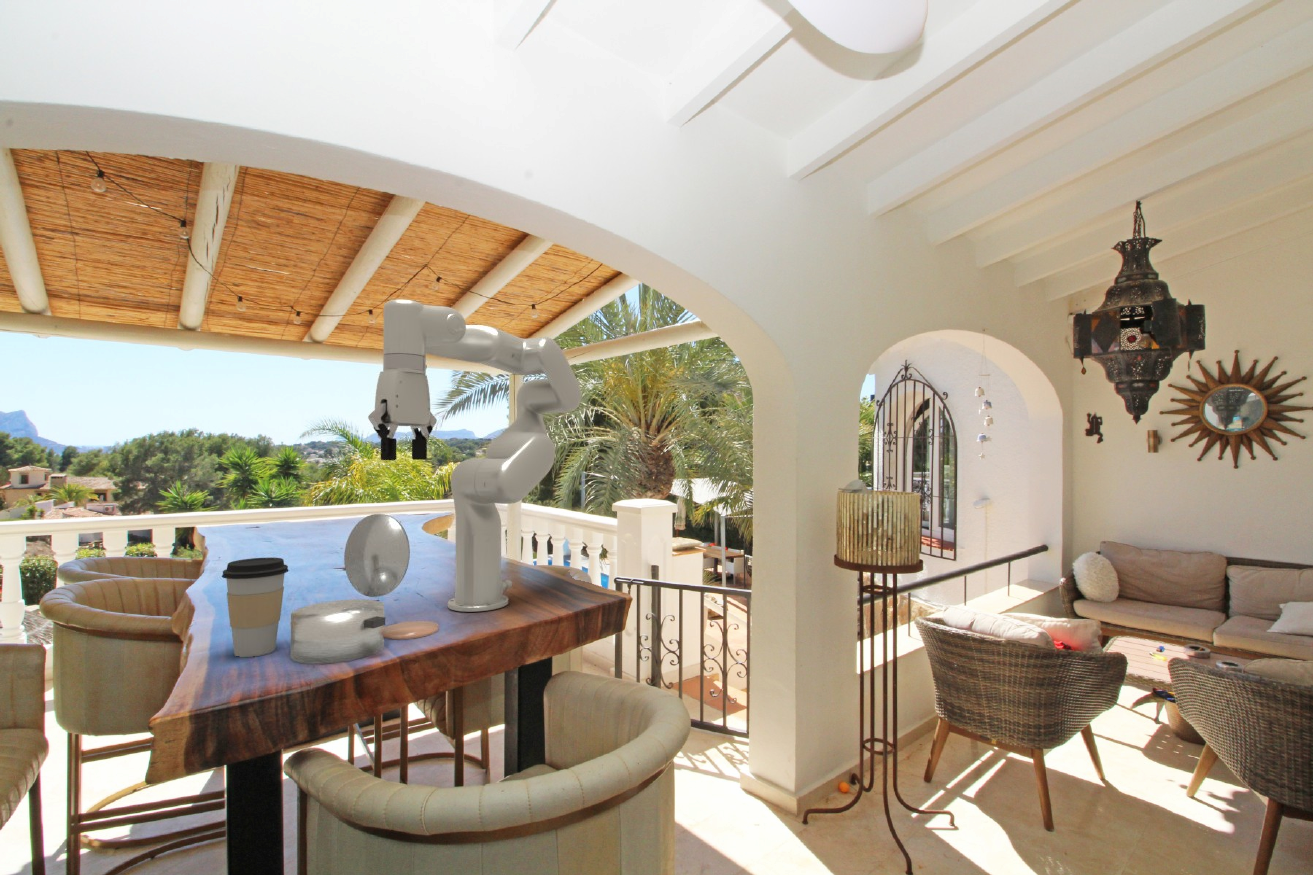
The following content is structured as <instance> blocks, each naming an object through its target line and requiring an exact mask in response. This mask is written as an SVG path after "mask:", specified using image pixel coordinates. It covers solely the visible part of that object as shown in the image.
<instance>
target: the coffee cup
mask: <svg viewBox="0 0 1313 875" xmlns="http://www.w3.org/2000/svg"><path fill="white" fill-rule="evenodd" d="M288 567H289V565H287V564H285V561H284V558H281V557H258V558H257V557H254V558H252V557H251V558H245V559H238V560H234V561H230V562H227V566H226V569H224V570H223V571H222V576H221V578H222V579H226V587H227V592H226V599H227V606H228V607H227V609H228V616H229V618H228V619H229V626H230V628H231V636H232V645H233V646H232V647H233V654H234V657H236V656H240V657H239V658H253V656H255V657H260V656H265V655H269V654H271V653H273V652H275V650H276V648H277V647H276V646H277V639H278V631H279V623H280V621H281V616H282V608H283V598H284V589H285V587H284V582H285V575H286V573H288V572H289V571H290V570H289V569H288Z"/></svg>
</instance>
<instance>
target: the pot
mask: <svg viewBox="0 0 1313 875" xmlns="http://www.w3.org/2000/svg"><path fill="white" fill-rule="evenodd" d="M385 626H386V617H385V603H384V602H382V601H379V600H375V599H362V598H361V599H358V598H357V599H340V600H331V601H324V602H323V601H322V602H318V603H313V604H310V605H305V606H303V607H299V608H297V609H295V610H293V611H291V613H290V652H289V653H290V656H289V657H290V660H292V661H294V662H296V663H301V664H308V665H309V664H311V665H323V664H326V665H327V664H334V663H343V662H349V661H355V660H358V659H361V658H366V657H368V656H371V655H373V654H375V653H377V652H379V651H381V650H382V649H383V648H384V646H385V638H384V627H385Z"/></svg>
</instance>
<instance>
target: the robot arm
mask: <svg viewBox="0 0 1313 875" xmlns="http://www.w3.org/2000/svg"><path fill="white" fill-rule="evenodd" d="M382 333H383V339H382V340H383V341H382V342H383V346H382V347H383V350H382V351H383V355H382V357H383V358H382V359H383V361H382V363H383V364H382V365H383V366H382V368H383V370H382V371H380V372H379V375H378V379H377V384H376V389H375V390H376V391H375V400H374V410H373V411H372V412H371V413H370V414H368V417H367V419H368V420H369V422H370V424H371V425H372V426H373V429H374V431H375V432H376V433H377V438H378V439H380V460H381V461H396V460H397V442H398V441H397V438H394V437H395V434H396V432H397V429H398V427H410V429H411V432H412V435H413V437H414V438H413V439H411V459H412V460H416V461H419V460H422V461H423V460H424V461H425V460H427V458H428V439H429V438H430V435H431V433H432V432H433V428H434V427H435V425H436V424H437V423H438V422H437V418H436V417H435V416H434V414H433V413H432V412H431V396H430V395H431V394H430V387H429V381H428V375H427V374H426V372H427V363H426V362H427V361H426V360H427V357H426V356H427V354H428V355H431V356H434V357H440V358H447V359H452V360H457V361H462V362H465V363H466V362H467V363H474V364H475V363H476V364H481V365H485V366H488V367H491V368H495V369H496V370H501V371H503V372H506V373H510V374H511V375H512V374H513V375H517V376H531V375H543V374H545V376H546V378H539V379H532V380H531V379H530V380H528V381H526V382H524V383H523V384H521V386H520V387H519V388H518V391H517V393H516V418H515V420H514V421H513V422H512V424H510V426H508V427H507V428H506V429H505V430H504V431H502V433H501V434H499V435H498V436H497V437H496V438H495V439H493V440H492V442H490V444H489V446H488V447H487V449H486V451H485V452H486V453H485V457H484V458H483V457H482V458H480V457H479V458H478V457H475V458H468V459H465V460H463V461H460V462H459V463H458V464H457V465H456V466H455V467H454V469H453V471H452V473H451V475H450V488H451V493H452V494H451V495H452V499H453V504H454V511H455V515H454V516H455V554H454V556H455V567H454V568H455V570H454V571H455V572H454V573H455V575H454V576H455V577H454V578H455V582H454V584H455V586H454V587H455V589H454V590H455V592H454V593H455V597H453V598H451V599H449V600H448V601H447V608H448V610H452V611H455V612H456V611H457V612H462V613H463V612H466V613H467V612H469V613H470V612H473V613H474V612H486V611H487V612H488V611H493V610H497V609H500V608H503V607H505V606H507V605H508V604H509V597H508V596H507V595H504V591H505V590H509V589H510V588H512V586H513V582H512V581H511V580H510V579H507V580H502V520H501V516H500V512H499V510H498V507H497V506H496V504H501V505H506V504H507V505H510V504H512V505H513V504H516V503H518V502H520V501H522V500H523V499H524V498H525V497H527V496H528V494H530V492H532V491H533V490H534V488H536V487H537V485H538V484H539V483H540V482H541V481H543V479H544V478H545V477H546V476H547V474H548V473H549V472H550V471H551V469H552V467H553V466H554V462H555V458H556V449H555V448H556V447H555V444H554V441H553V440H552V439H551V438H550V436H548V434H547V432H548V431H547V427H546V424H545V422H544V418H543V414H559V413H562V414H563V413H564V414H565V413H570V412H573V411H575V410H576V409H578V407H579V406H580V404H581V402H582V391H581V390H582V389H581V386H580V383H579V381H578V379H577V377H576V375H575V373H574V371H573V369H572V367H571V364H570V363H569V360H568V359H567V357H566V355H565V353H564V351H563V350H562V348H561V346H560V345H559V344H558V342H556V341H555V340H554V339H553V338H551V337H549V336H541V337H531V338H521V337H519V336H516V335H514V334H512V333H509V332H506V331H504V330H502V329H499V328H497V327H495V326H490V325H484V324H483V325H481V324H469V325H468V324H467V322H466V320H465V318H464V316H463V315H462V314H461V313H460V312H459V311H458V310H457V309H455V308H453V307H450V306H443V305H429V304H422V303H421V302H419V301H415V300H412V299H402V298H401V299H398V298H397V299H390V300H388V301H387V302H386V303H384V305H383V332H382Z"/></svg>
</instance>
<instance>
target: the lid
mask: <svg viewBox="0 0 1313 875" xmlns="http://www.w3.org/2000/svg"><path fill="white" fill-rule="evenodd" d="M410 556H411V548H410V541H409V537H408V534H407V532H406V530H405V528H404V526H403V525H402V524H401V522H399V520H397V519H396V518H394V516H391V515H388V514H383V513H374V514H373V513H372V514H370V515H368V516H366V517H364V518H362V519H361V520H359V521H358V522H357V523H356V524H355V525H354V527H353V528H352V530H351V531H350V533H349V536H348V538H347V541H346V543H345V547H344V557H343V563H344V569H345V570H344V571H345V574H346V577H347V579H348V581H349V583H350V584H351V586H352V587H353V588H354V589H355V590H356V591H357V592H358V593H359V594H361V595H363V596H365V597H369V598H376V597H383V596H386V595H388V594H390V593H392V592H393V591H394V590H395V589H396V588H397V587H398V586H399V585H400V584H401V582H402V581H403V580H404V578H405V575H406V574H407V571H408V568H409V565H410V564H409V563H410Z"/></svg>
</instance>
